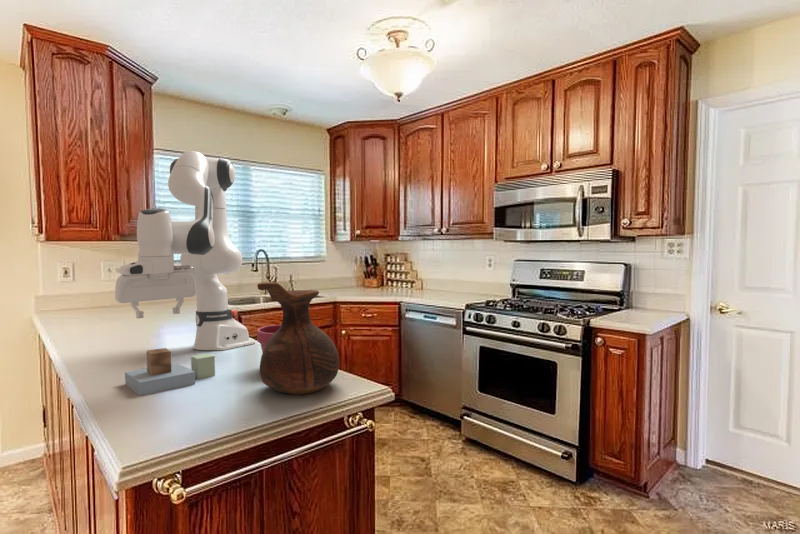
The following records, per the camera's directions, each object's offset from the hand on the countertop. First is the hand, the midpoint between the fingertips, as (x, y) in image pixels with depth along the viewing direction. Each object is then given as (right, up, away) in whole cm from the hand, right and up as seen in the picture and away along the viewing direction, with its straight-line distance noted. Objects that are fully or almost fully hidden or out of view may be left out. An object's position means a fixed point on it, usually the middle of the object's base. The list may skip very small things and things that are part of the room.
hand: (158, 315), depth 129 cm
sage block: (+9, -19, +9) cm, 23 cm away
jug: (+40, -20, -3) cm, 45 cm away
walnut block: (0, -16, +1) cm, 16 cm away
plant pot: (+30, -19, +17) cm, 39 cm away
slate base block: (0, -20, +1) cm, 20 cm away
